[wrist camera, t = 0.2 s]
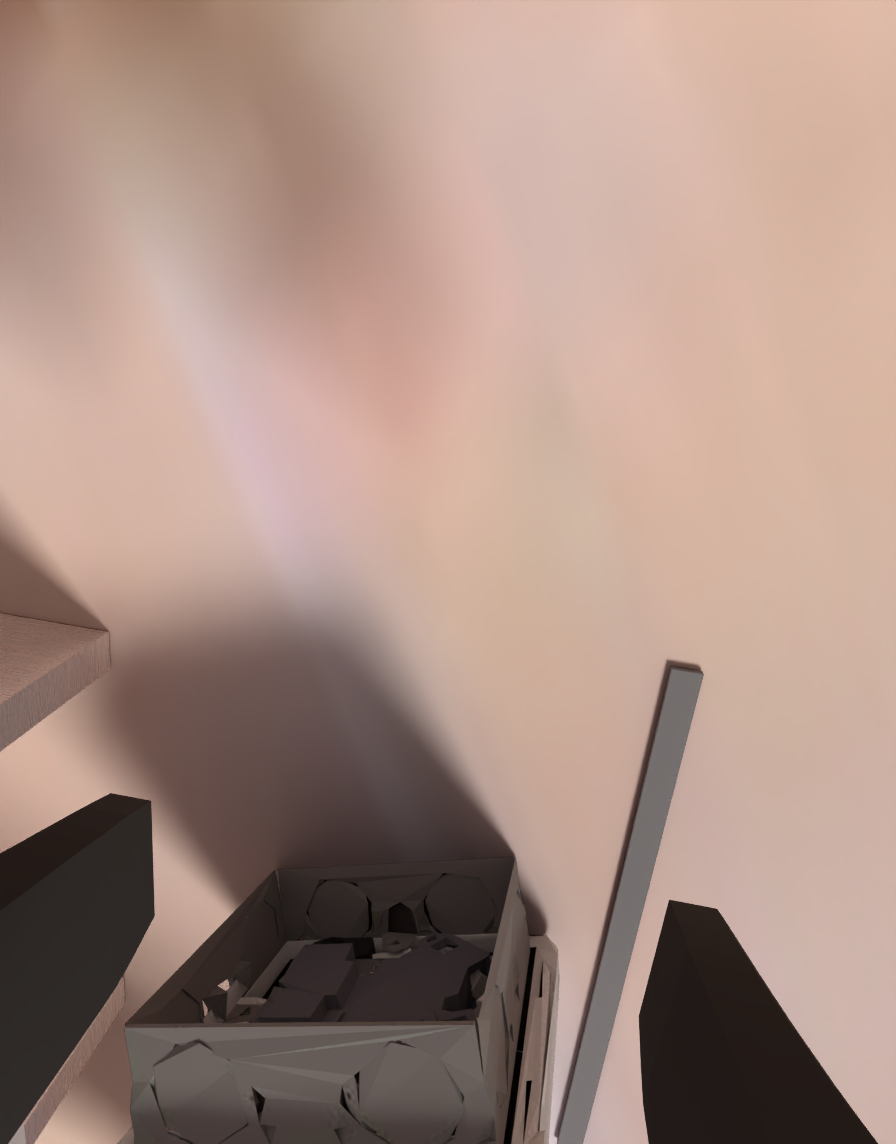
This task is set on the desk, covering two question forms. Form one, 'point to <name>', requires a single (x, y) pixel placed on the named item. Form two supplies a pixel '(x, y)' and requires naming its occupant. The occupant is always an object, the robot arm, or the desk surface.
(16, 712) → the bracket
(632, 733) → the desk surface
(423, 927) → the electrical switch
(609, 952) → the long thin gray rod
